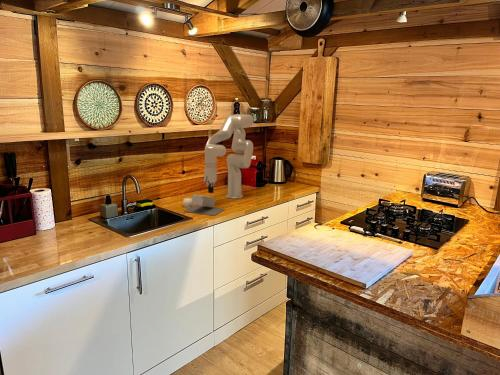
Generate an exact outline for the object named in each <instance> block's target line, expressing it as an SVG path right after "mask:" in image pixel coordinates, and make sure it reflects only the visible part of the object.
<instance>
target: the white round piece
mask: <svg viewBox="0 0 500 375" xmlns="http://www.w3.org/2000/svg"><path fill="white" fill-rule="evenodd" d="M182 203H183V208H191V207H193V206H194V204H191V203H192V197H185V198H183V201H182Z"/></svg>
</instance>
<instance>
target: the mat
mask: <svg viewBox="0 0 500 375" xmlns="http://www.w3.org/2000/svg"><path fill="white" fill-rule="evenodd" d="M225 210H226V209H225V208H220V207H219V208H217V207H214V208H212V207H205V206H200V205H193V206H192V207H188V208H187V209H185V210H183V212H184V213H190V214H199V215H205V216H212V217H216V216H217V215H219V214H221V213H222V212H224V211H225Z"/></svg>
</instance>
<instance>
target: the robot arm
mask: <svg viewBox="0 0 500 375" xmlns="http://www.w3.org/2000/svg"><path fill="white" fill-rule="evenodd" d="M253 124H254V117H253V116H252V115H251V114H243V113H242V114H240V113H238V114H237V113H236V114H230V115H227V116H226V117H225V119H224V121H223V123H222V125H221V127H220V129H219V130H218V132H216V133H214V134H213V135H212V136H210V137H209V138H208V140H207V142H206V144H205V146H204V172H203V183H205V185H206V186H207V193H209V194H214V189H215V188H214V186H215V183H216V182H217V178H218V173H217V169H218V168H217V165H218V164H217V163H218V162H217V161H218V160H217V157H224V156H225V155H226V153H227V148H226V146H224V145H222V144H218V143H220V142H223V141H226V140H229V139H230V138H231V137H232V134H233V138H232V144H231V151H232V152H234V153H230V154H228V155H227V157H226V165H227V194H226V195H225V197H226V198H229V199H235V200H237V199H242V198H243V197H244V195H243V194H242V191H243V189H242V172H241V170H240V168H241V169H248V168H249V167H250V166H251V162H252V157H253V153H254V144H253V142H252V141H251V140H249V139H246V131H245V129H247V128H250V127H252V126H253Z"/></svg>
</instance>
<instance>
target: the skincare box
mask: <svg viewBox="0 0 500 375" xmlns="http://www.w3.org/2000/svg"><path fill="white" fill-rule="evenodd" d="M191 198H192V203H191V204H193V206H195V205H197V206H204V207H212V208H215V203H216V198H215V197H211V196H206V195H201V194H192V197H191Z"/></svg>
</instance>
